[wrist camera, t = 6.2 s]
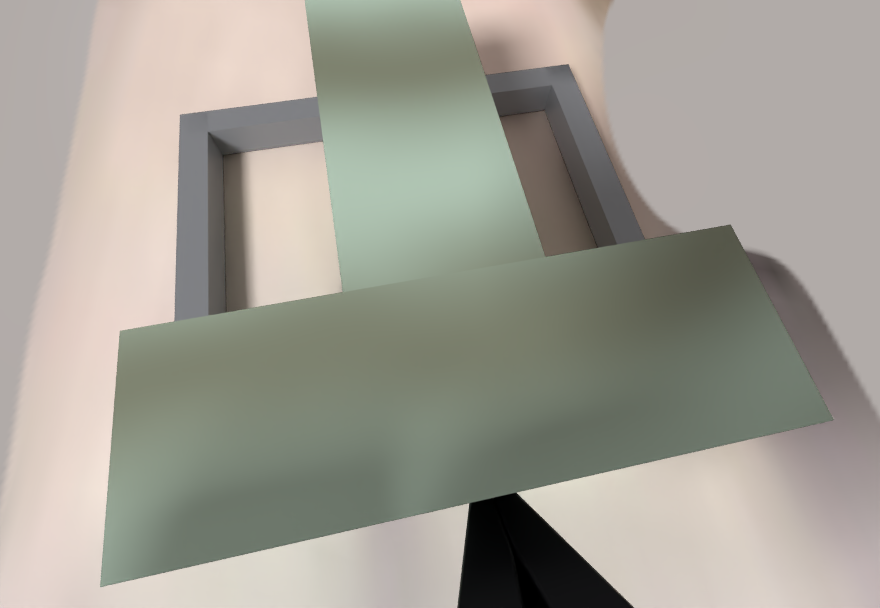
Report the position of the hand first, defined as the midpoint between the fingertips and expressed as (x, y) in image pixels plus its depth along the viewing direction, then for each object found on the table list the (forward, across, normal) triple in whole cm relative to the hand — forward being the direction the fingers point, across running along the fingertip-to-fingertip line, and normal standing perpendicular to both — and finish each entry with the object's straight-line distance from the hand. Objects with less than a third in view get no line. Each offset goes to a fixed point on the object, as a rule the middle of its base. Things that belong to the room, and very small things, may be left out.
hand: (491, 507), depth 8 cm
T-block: (+10, 0, 0) cm, 10 cm away
